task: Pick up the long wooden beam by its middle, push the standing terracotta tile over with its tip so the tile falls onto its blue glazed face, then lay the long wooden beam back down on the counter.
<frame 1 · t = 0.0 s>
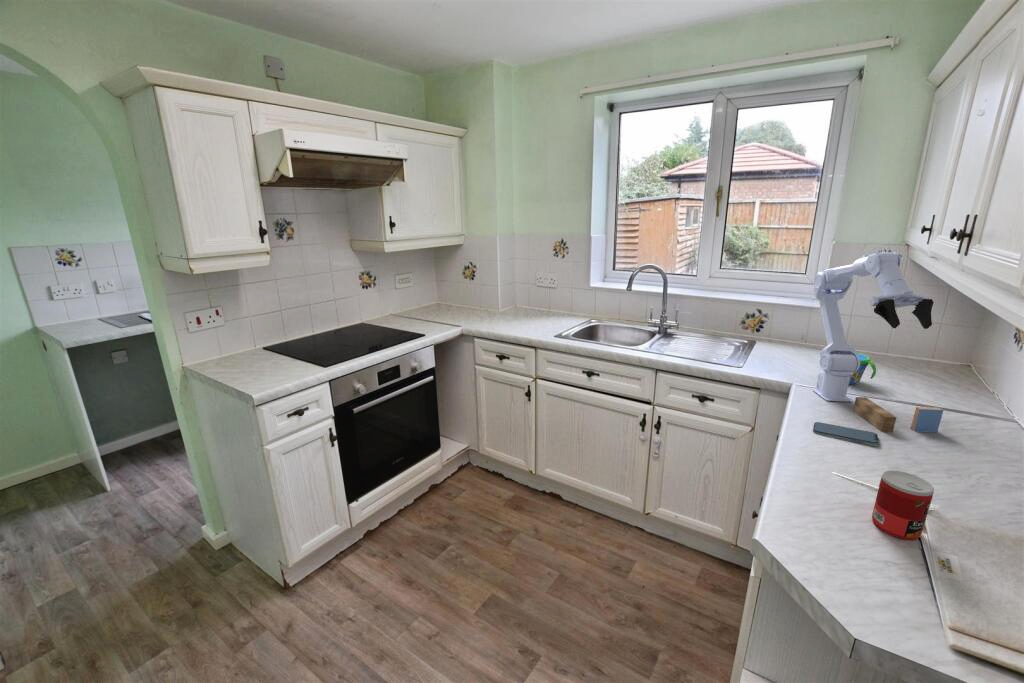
hand: (912, 326, 120), 32 cm above the worktop, tool tilted 50°, fingers open, 7 cm apart
fork: (880, 493, 105), on the worktop
smartphone: (843, 436, 130), on the worktop
long wooden beam: (871, 421, 138), on the worktop
tile: (923, 430, 132), on the worktop
canned food: (894, 528, 93), on the worktop
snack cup: (846, 381, 169), on the worktop
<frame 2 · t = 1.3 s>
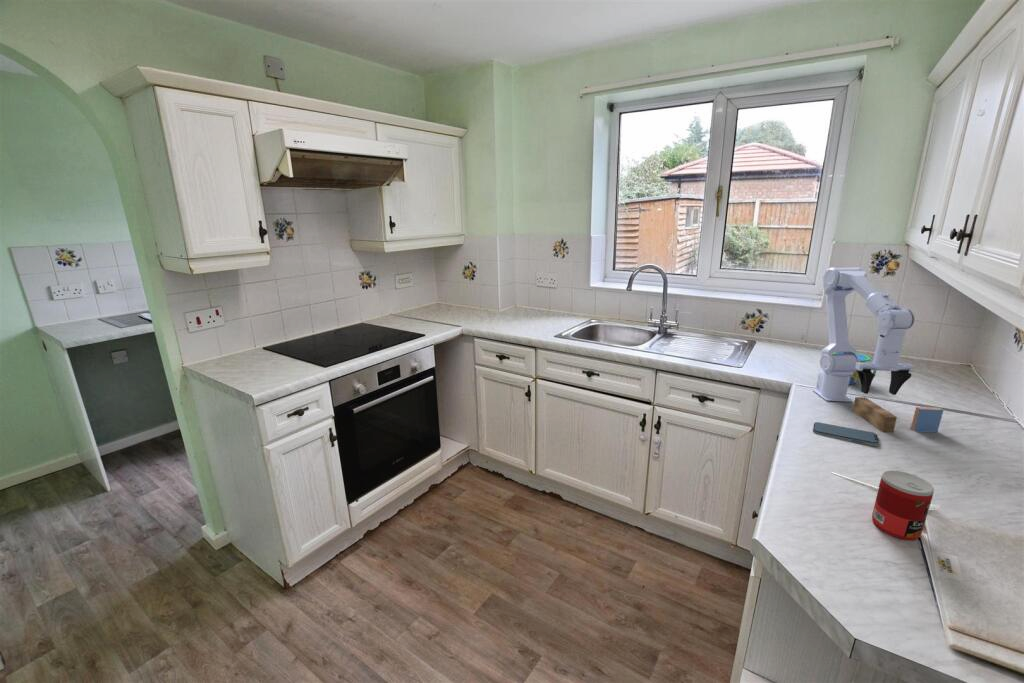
hand: (878, 393, 135), 9 cm above the worktop, tool pointing down, fingers open, 7 cm apart
nothing on the worktop moved.
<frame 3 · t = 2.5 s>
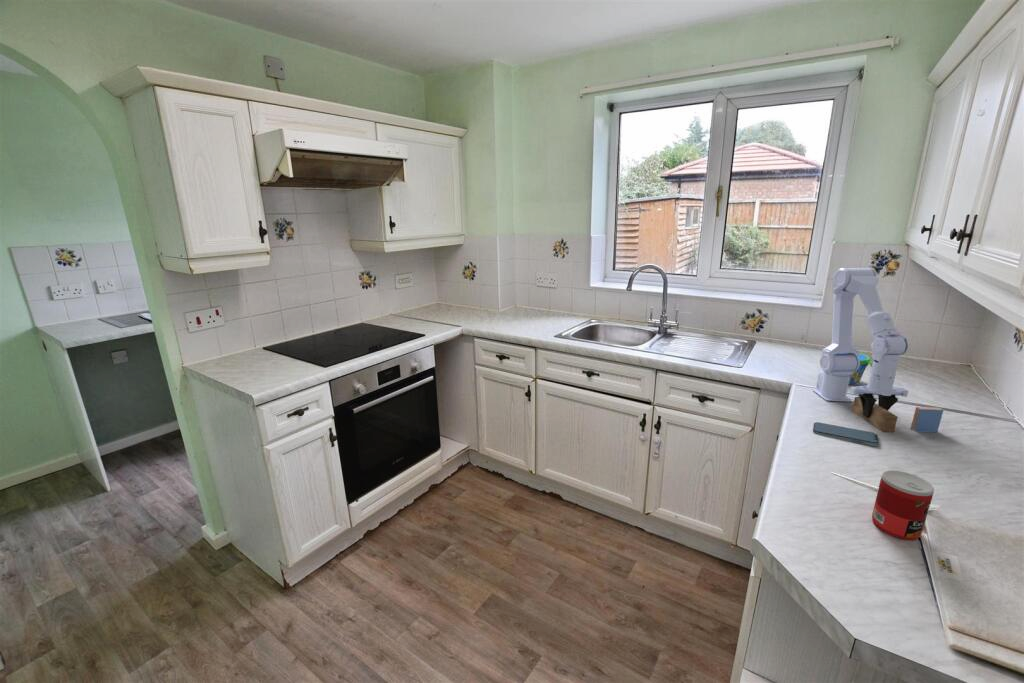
hand: (872, 416, 138), 1 cm above the worktop, tool pointing down, fingers closed on long wooden beam, 3 cm apart
long wooden beam: (871, 421, 138), on the worktop, touching gripper
everything else where it was.
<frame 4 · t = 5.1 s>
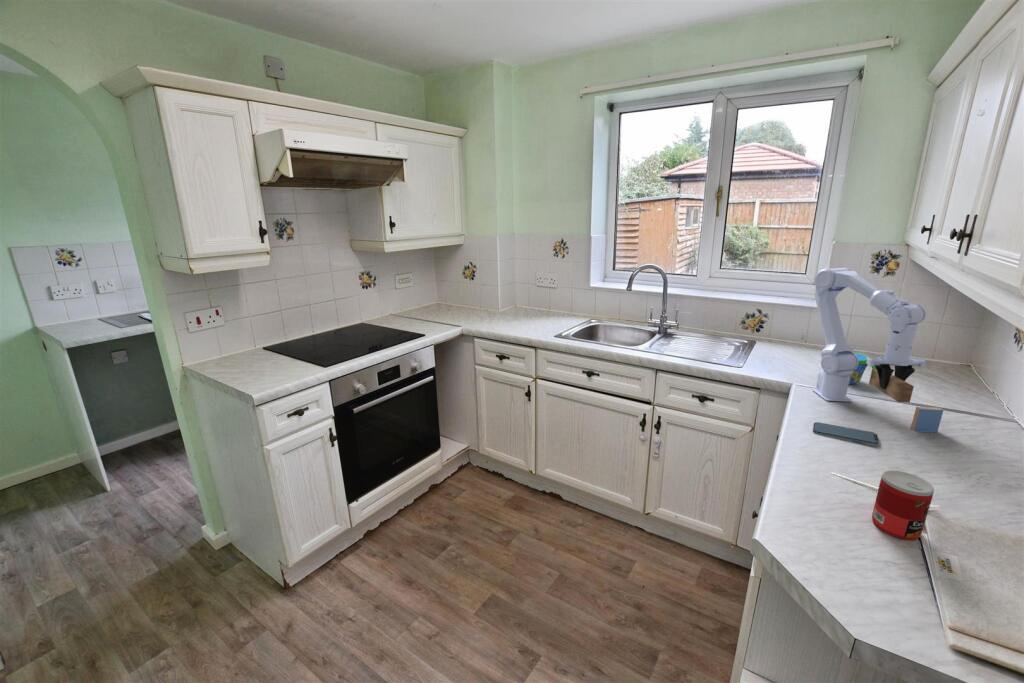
hand: (889, 388, 137), 10 cm above the worktop, tool pointing down, fingers closed on long wooden beam, 3 cm apart
long wooden beam: (888, 392, 137), point 8 cm above the worktop, touching gripper
everything else where it was.
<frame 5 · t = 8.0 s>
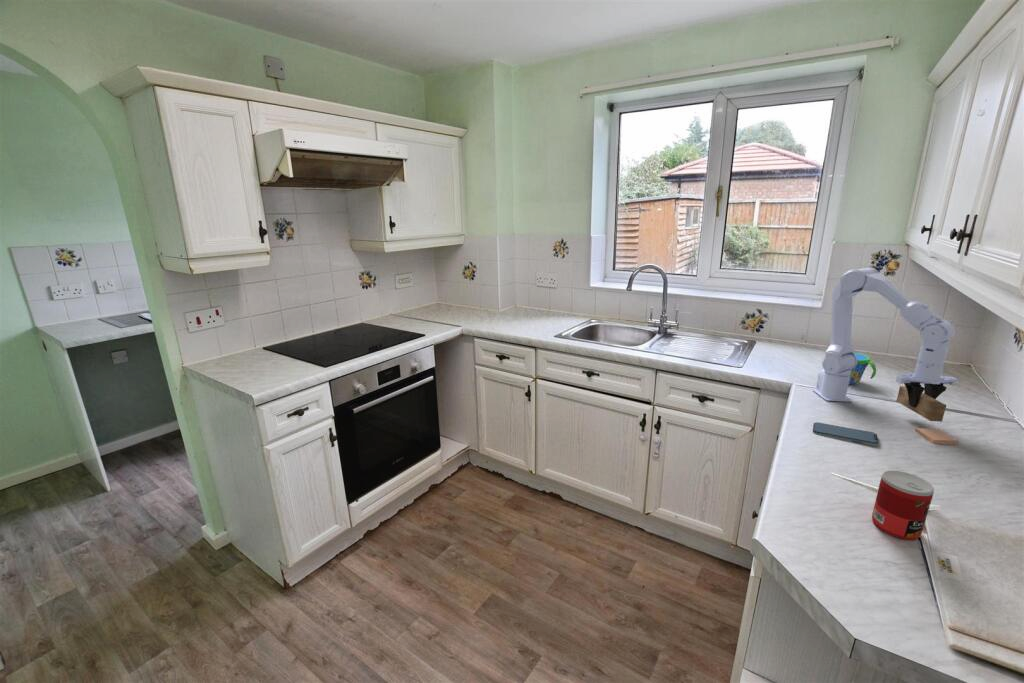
hand: (919, 406, 134), 6 cm above the worktop, tool pointing down, fingers closed on long wooden beam, 3 cm apart
long wooden beam: (918, 410, 134), point 4 cm above the worktop, touching gripper
tile: (926, 431, 131), on the worktop, tilted 90°
everything else where it was.
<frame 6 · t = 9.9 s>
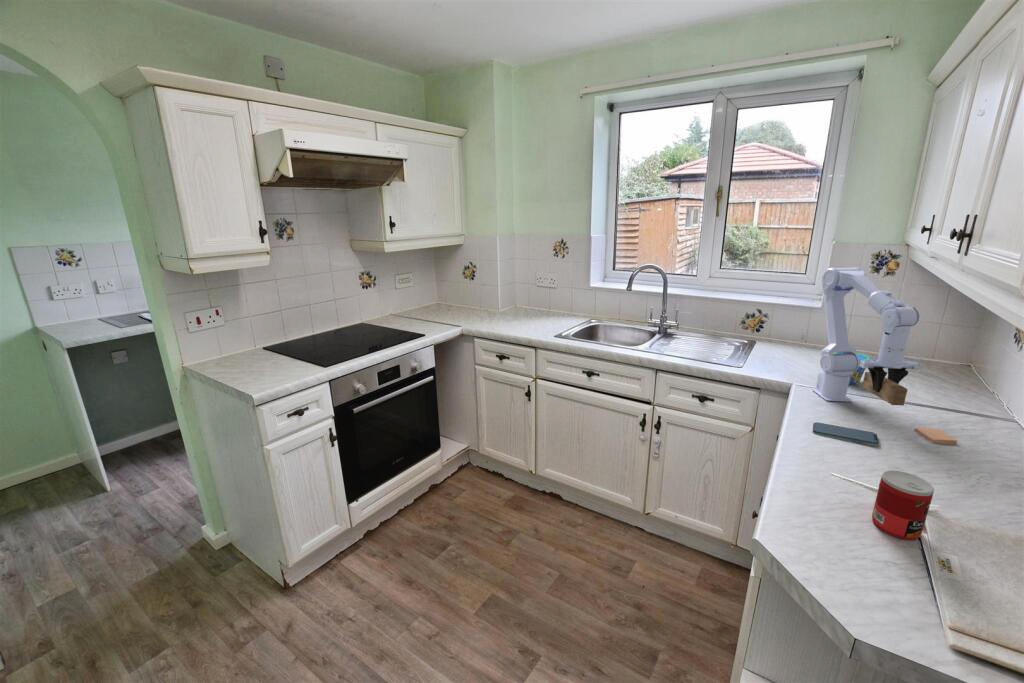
hand: (882, 390, 135), 10 cm above the worktop, tool pointing down, fingers closed on long wooden beam, 3 cm apart
long wooden beam: (881, 395, 135), point 8 cm above the worktop, touching gripper
everything else where it was.
when the fingers open (3 cm above the worktop, at t = 11.5 s): long wooden beam drops 2 cm, on the worktop.
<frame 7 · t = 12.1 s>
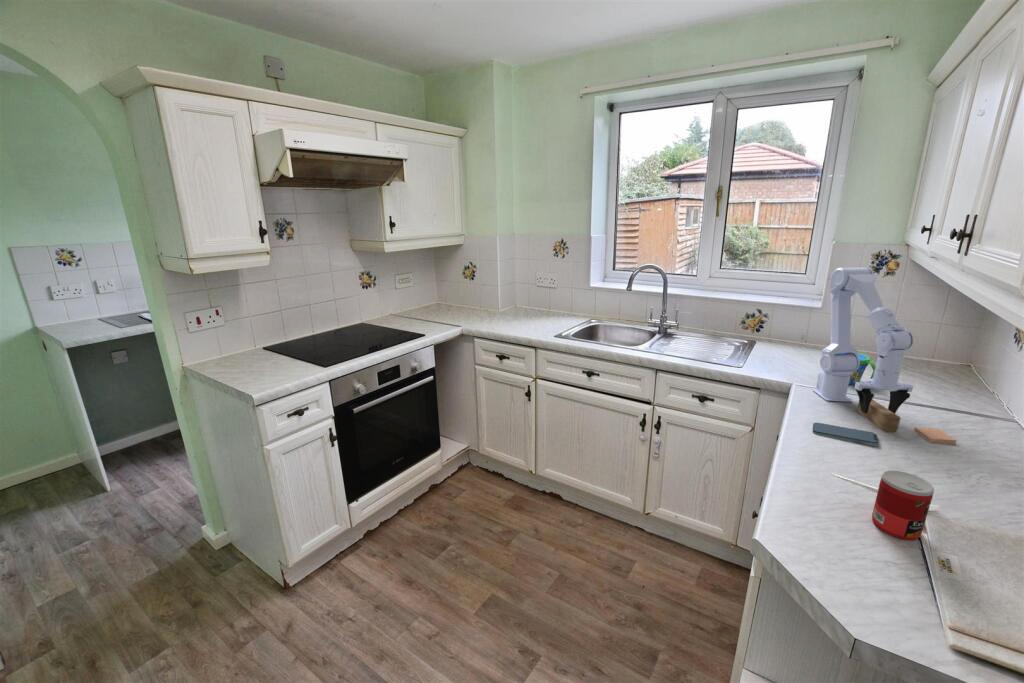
hand: (877, 412, 137), 3 cm above the worktop, tool pointing down, fingers open, 7 cm apart
long wooden beam: (875, 421, 138), on the worktop
everything else where it was.
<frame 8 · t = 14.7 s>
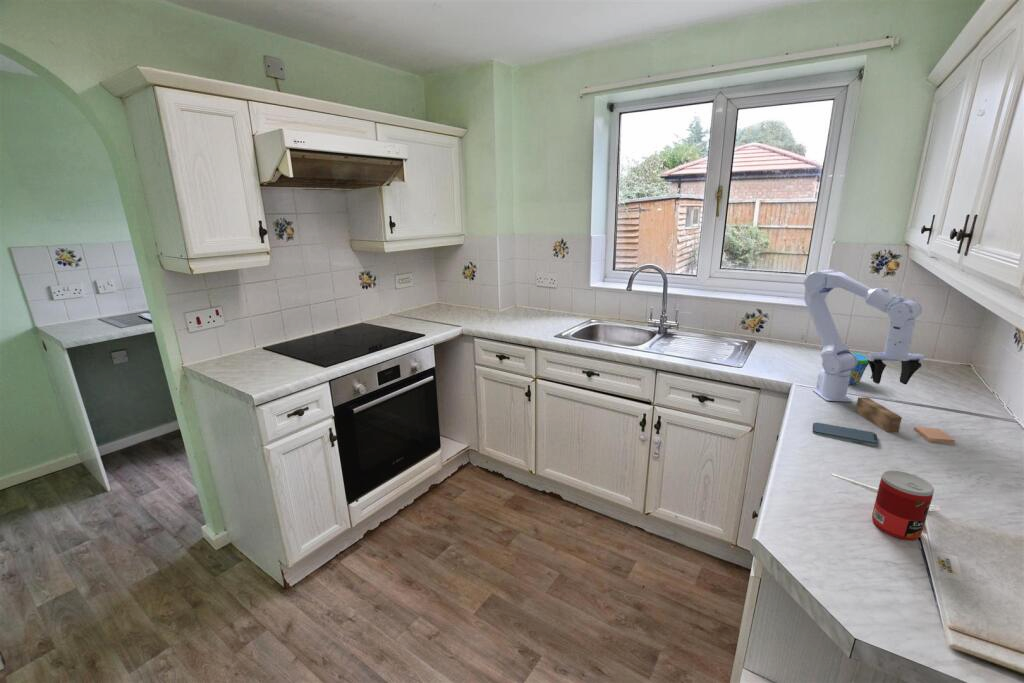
hand: (889, 382, 140), 10 cm above the worktop, tool pointing down, fingers open, 7 cm apart
nothing on the worktop moved.
at the end: tile tilted 90°; long wooden beam inside the target area (0.4 cm from its centre), on the worktop; the gripper is holding nothing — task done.
